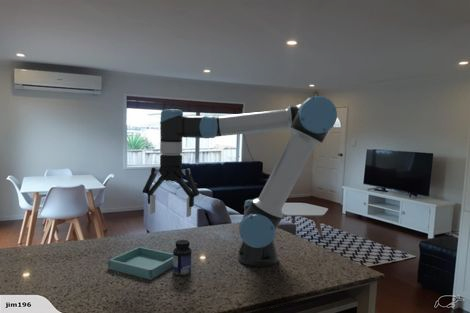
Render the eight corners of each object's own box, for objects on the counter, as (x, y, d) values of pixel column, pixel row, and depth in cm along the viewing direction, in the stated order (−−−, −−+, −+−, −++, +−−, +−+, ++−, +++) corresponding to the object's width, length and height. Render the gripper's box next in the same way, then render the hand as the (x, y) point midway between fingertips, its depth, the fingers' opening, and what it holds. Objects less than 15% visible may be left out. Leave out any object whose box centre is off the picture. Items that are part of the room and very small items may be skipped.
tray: (178, 263, 126) (178, 254, 125) (150, 279, 111) (150, 270, 111) (139, 254, 133) (139, 246, 133) (108, 268, 118) (108, 260, 118)
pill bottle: (192, 270, 120) (193, 239, 119) (188, 277, 113) (189, 245, 113) (175, 269, 120) (176, 238, 119) (170, 276, 114) (171, 244, 113)
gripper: (208, 154, 121) (207, 214, 122) (143, 152, 126) (143, 209, 127) (202, 156, 113) (201, 219, 115) (133, 153, 119) (132, 214, 120)
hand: (170, 214), depth 121 cm, fingers open, 13 cm apart
